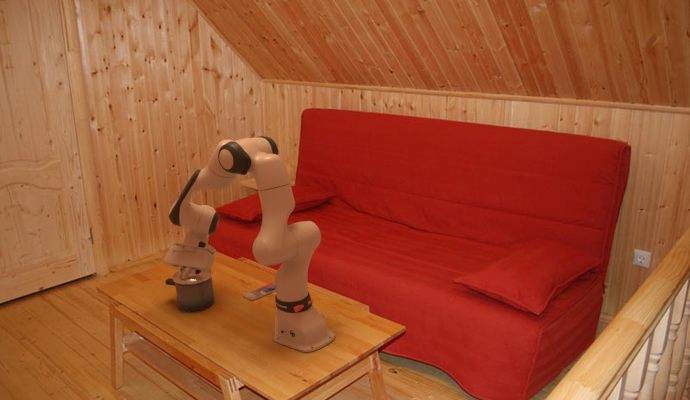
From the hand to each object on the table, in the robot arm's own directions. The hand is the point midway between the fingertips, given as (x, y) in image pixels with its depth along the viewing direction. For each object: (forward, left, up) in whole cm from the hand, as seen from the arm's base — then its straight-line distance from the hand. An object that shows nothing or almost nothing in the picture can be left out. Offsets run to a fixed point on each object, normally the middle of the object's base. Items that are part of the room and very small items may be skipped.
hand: (181, 278), depth 212 cm
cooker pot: (+5, -5, -14) cm, 15 cm away
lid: (+2, -6, -2) cm, 7 cm away
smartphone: (-10, -29, -14) cm, 34 cm away
